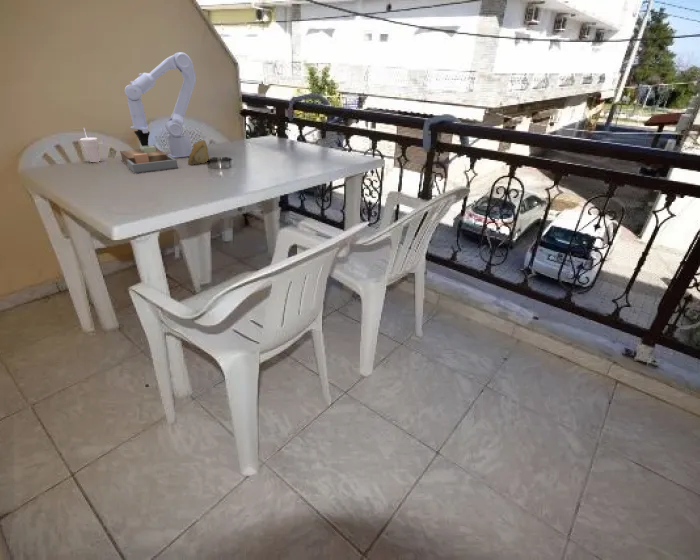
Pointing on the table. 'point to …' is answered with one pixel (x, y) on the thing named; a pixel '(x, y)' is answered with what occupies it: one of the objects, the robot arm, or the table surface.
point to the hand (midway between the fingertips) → (145, 147)
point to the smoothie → (91, 147)
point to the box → (153, 165)
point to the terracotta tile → (141, 158)
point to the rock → (198, 153)
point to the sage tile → (148, 148)
